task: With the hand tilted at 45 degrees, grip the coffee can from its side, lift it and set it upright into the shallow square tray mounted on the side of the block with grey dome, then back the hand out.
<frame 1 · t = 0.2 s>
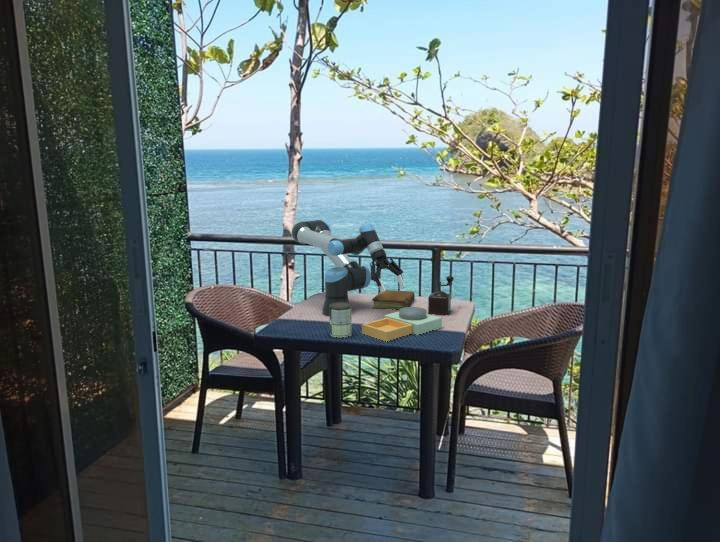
hand: (393, 289, 285), 15 cm above the table, tool tilted 35°, fingers open, 13 cm apart
block with grey dome: (412, 326, 275), on the table
shallow square tray: (387, 333, 264), on the table
coffee can: (340, 334, 264), on the table
diary: (393, 305, 317), on the table
pepper mill: (440, 311, 302), on the table
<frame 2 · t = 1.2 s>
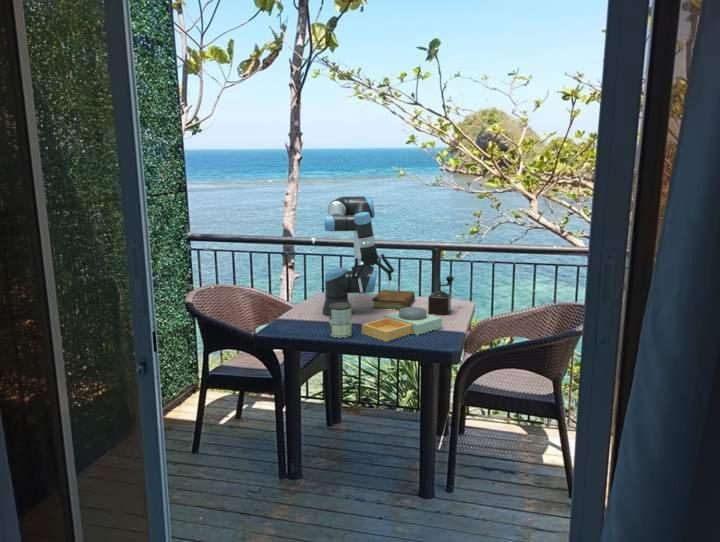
hand: (375, 289, 270), 19 cm above the table, tool pointing down, fingers open, 13 cm apart
nothing on the table moved.
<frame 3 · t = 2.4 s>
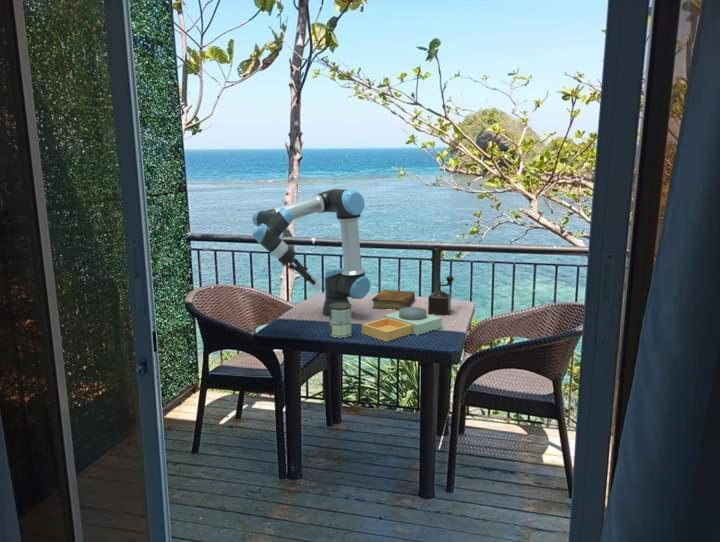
hand: (317, 285, 257), 24 cm above the table, tool tilted 45°, fingers open, 13 cm apart
nothing on the table moved.
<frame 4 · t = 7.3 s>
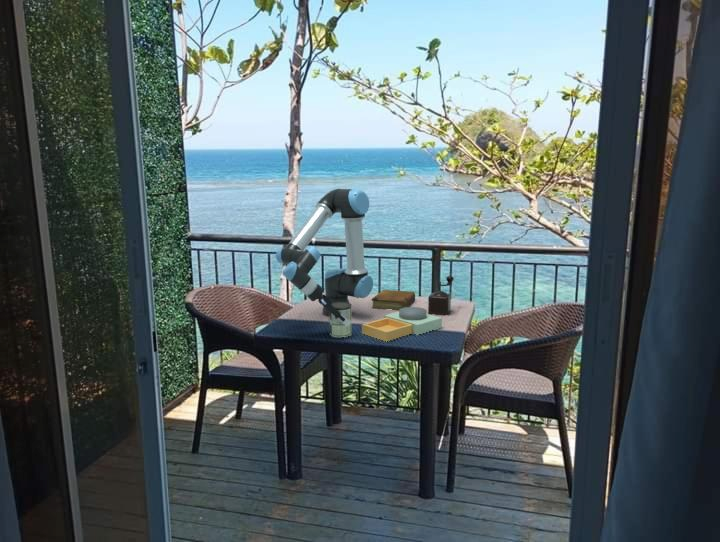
hand: (347, 321, 264), 6 cm above the table, tool tilted 45°, fingers closed on coffee can, 10 cm apart
coffee can: (340, 334, 264), on the table, touching gripper
everything else where it was.
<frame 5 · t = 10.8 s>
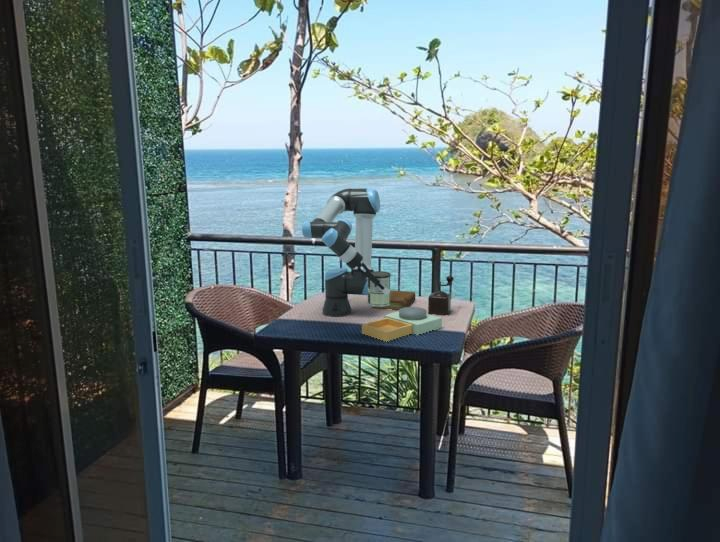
hand: (385, 290, 259), 21 cm above the table, tool tilted 45°, fingers closed on coffee can, 10 cm apart
coffee can: (378, 304, 260), point 14 cm above the table, touching gripper
everything else where it was.
when the fingers open (9 cm above the table, at t = 14.2 s): coffee can drops 2 cm, resting on shallow square tray.
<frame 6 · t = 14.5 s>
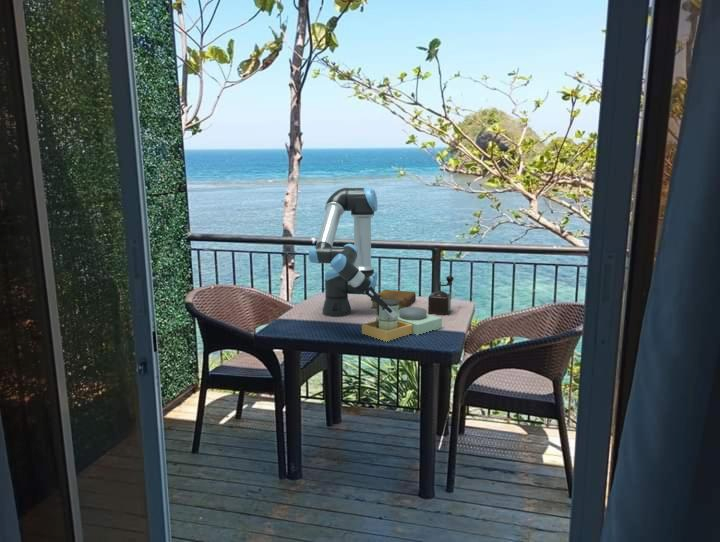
hand: (392, 312, 263), 10 cm above the table, tool tilted 45°, fingers open, 13 cm apart
coffee can: (386, 330, 264), point 2 cm above the table, touching shallow square tray
everything else where it was.
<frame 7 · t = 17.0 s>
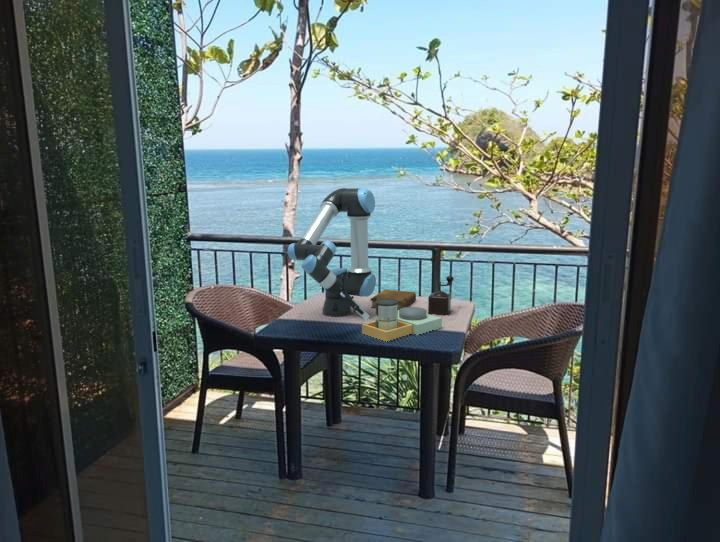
hand: (364, 314, 260), 10 cm above the table, tool tilted 45°, fingers open, 13 cm apart
nothing on the table moved.
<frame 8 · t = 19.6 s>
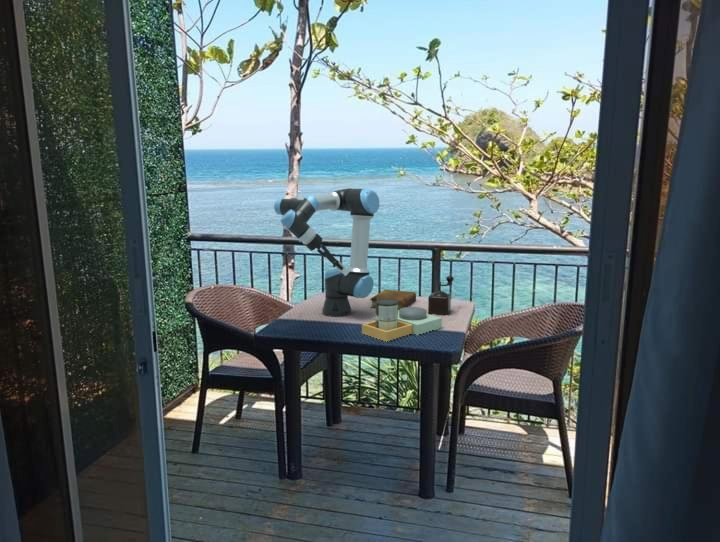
hand: (344, 270, 259), 30 cm above the table, tool tilted 45°, fingers open, 13 cm apart
nothing on the table moved.
at the end: coffee can 0.2 cm off-centre on the shallow square tray, point 1.3 cm above the shallow square tray's base; coffee can tilted 0°; the gripper is holding nothing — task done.
